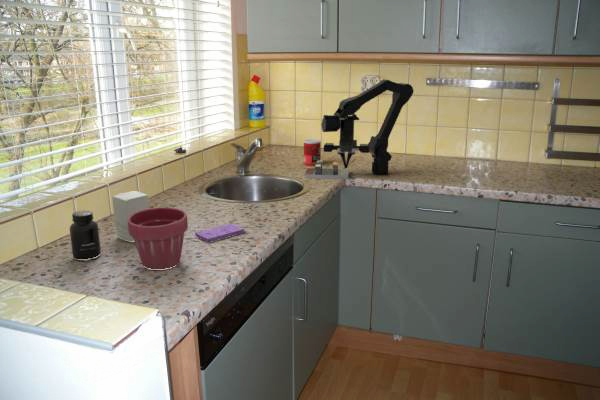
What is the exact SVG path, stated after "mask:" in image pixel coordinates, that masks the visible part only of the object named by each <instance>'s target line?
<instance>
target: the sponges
mask: <svg viewBox="0 0 600 400" xmlns="http://www.w3.org/2000/svg"><path fill="white" fill-rule="evenodd" d="M243 232H244V233H245V228H243V227H241V226H237V225H235V224H233V223H227V224H224V225H221V226H215V227H211V228H208V229H203V230H199V231H195V234H194V237H195V236H197V237H199V238H201V239H203V240H204V242H205V241H206V242H205V243H207V242H210V243H212V242H211V241H213V242H216V241H215V240H217V241H219V240H218V239H220V240H222V239H221V238H224V239H226V238H225V237H227V238H229V237H228V236H231V237H233V236H232V235H235V234H238V235H240V234H239V233H242V234H243ZM235 236H236V235H235ZM197 237H196V238H197ZM199 238H198V239H199ZM201 239H200V240H201ZM203 240H202V241H203Z"/></svg>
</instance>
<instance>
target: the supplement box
mask: <svg viewBox="0 0 600 400" xmlns="http://www.w3.org/2000/svg"><path fill="white" fill-rule="evenodd" d="M111 197H112V206H113V215H114V222H115V223H114V225H115V230H116V231H115V232H116V237H117V236H119V237H121V238H123V239H125V240H128V241H133V240H134V238H133V237H131V236H130V234H129V230H128V218H129V216H131V215H132V214H134V213H136V212H138V211H141V210H145V209H150V200H149V195H148V194H146V193H143V192H139V191H136V190H132V191H127V192H123V193H119V194H116V195H112V196H111Z"/></svg>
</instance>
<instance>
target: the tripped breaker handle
mask: <svg viewBox="0 0 600 400" xmlns="http://www.w3.org/2000/svg"><path fill="white" fill-rule="evenodd" d="M332 169H333V172H338V169H339V162H337V161H334V162H332Z"/></svg>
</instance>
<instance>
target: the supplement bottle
mask: <svg viewBox="0 0 600 400" xmlns="http://www.w3.org/2000/svg"><path fill="white" fill-rule="evenodd" d="M71 217H72V223H71V225H70V226H69V234H70V235H69V236H70V242H71V253H72V257H74V258H76V259H88V258H93V257H96V256H98V255H99V254H100V253H101V254H102V251H101V242H100V241H101V239H100V230H99V225H98V222H96V221H95V220H94V216H93V211H90V210H78V211H75V212H73V213H72V214H71ZM74 258H73V259H74Z"/></svg>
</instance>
